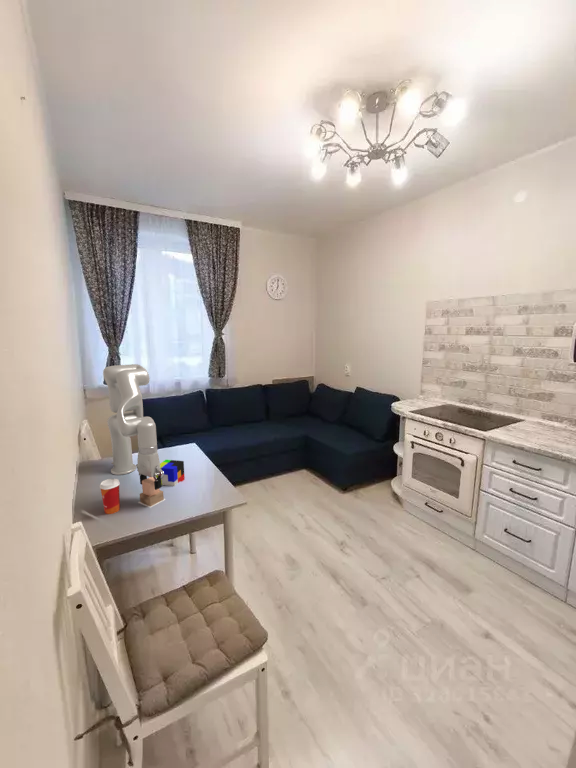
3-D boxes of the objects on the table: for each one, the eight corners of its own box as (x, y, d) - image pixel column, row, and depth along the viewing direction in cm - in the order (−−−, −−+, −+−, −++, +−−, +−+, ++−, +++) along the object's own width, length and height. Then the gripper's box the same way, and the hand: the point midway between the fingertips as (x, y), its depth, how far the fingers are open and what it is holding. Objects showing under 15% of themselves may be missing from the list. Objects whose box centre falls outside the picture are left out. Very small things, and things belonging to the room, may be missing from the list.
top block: (142, 493, 155) (141, 480, 154) (152, 488, 159) (151, 476, 158) (150, 496, 152) (149, 483, 151) (159, 491, 156) (158, 479, 155)
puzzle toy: (174, 488, 170) (173, 469, 169) (156, 486, 172) (154, 467, 171) (184, 479, 180) (183, 461, 178) (167, 477, 182) (165, 459, 180)
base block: (140, 502, 155) (139, 493, 154) (153, 495, 161) (152, 487, 160) (150, 506, 152) (149, 498, 151) (163, 499, 157) (163, 491, 157)
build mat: (128, 502, 157) (128, 499, 157) (150, 491, 168) (150, 489, 167) (151, 511, 149) (151, 509, 149) (173, 499, 159) (173, 497, 159)
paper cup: (107, 508, 152) (103, 478, 150) (125, 507, 153) (122, 477, 150) (99, 518, 145) (95, 486, 142) (118, 517, 145) (115, 486, 143)
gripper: (127, 448, 153) (131, 484, 156) (153, 456, 144) (156, 494, 147) (142, 443, 160) (145, 478, 163) (168, 450, 151) (171, 487, 154)
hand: (150, 485), depth 155 cm, fingers open, 9 cm apart
